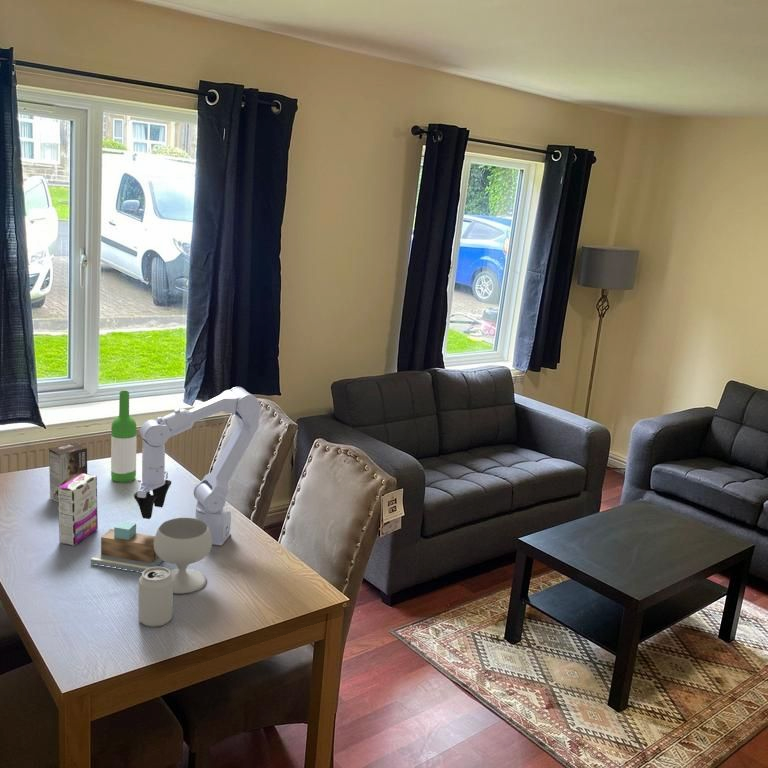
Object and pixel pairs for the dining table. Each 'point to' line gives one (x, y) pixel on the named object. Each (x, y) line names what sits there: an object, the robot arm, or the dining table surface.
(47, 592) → the dining table surface
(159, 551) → the chalice
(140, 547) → the tan block
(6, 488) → the dining table surface
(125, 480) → the wine bottle
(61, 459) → the coffee box
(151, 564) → the dock
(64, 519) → the candy bar box
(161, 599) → the can
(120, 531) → the teal cube block
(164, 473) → the robot arm
